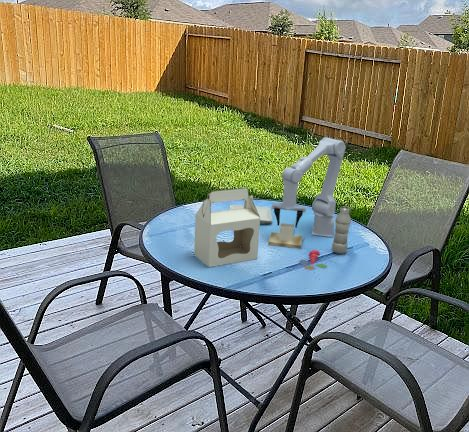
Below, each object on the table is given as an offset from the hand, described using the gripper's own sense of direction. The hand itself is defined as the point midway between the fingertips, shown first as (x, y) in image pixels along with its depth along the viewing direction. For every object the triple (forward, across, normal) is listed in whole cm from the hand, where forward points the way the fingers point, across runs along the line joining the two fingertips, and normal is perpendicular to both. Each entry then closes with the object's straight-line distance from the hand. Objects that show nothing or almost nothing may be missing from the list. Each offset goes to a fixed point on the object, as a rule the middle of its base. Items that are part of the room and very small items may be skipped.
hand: (287, 225), depth 210 cm
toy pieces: (+8, +12, -20) cm, 25 cm away
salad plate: (+8, -20, +27) cm, 35 cm away
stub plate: (+8, 0, 0) cm, 8 cm away
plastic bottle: (+8, +23, -5) cm, 25 cm away
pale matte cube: (+6, 0, 0) cm, 6 cm away
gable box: (+8, -22, -24) cm, 34 cm away
